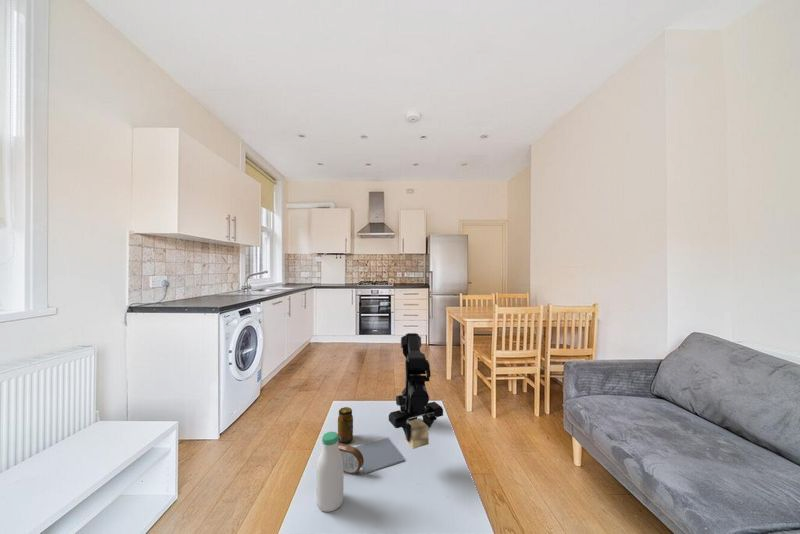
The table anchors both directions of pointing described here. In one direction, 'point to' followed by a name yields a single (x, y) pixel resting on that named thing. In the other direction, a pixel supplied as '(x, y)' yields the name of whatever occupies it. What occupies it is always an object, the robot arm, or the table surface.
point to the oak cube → (418, 434)
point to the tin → (351, 458)
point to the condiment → (346, 427)
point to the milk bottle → (330, 474)
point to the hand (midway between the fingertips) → (416, 438)
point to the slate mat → (379, 455)
